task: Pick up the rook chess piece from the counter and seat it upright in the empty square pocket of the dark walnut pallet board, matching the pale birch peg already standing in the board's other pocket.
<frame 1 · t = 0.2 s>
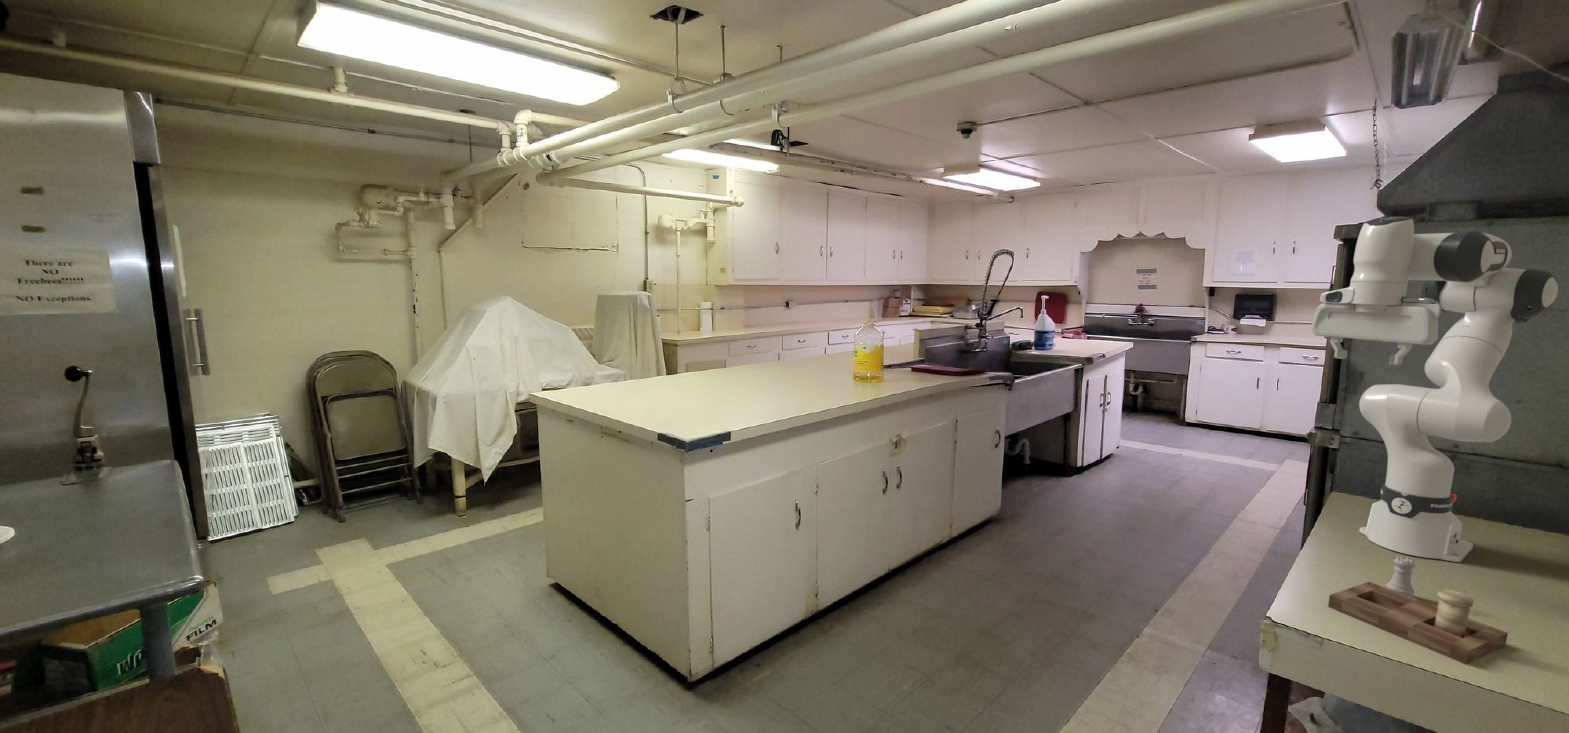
hand: (1366, 361, 134), 47 cm above the table, tool pointing down, fingers open, 8 cm apart
rook chess piece: (1398, 596, 130), on the table
pallet board: (1411, 625, 119), on the table
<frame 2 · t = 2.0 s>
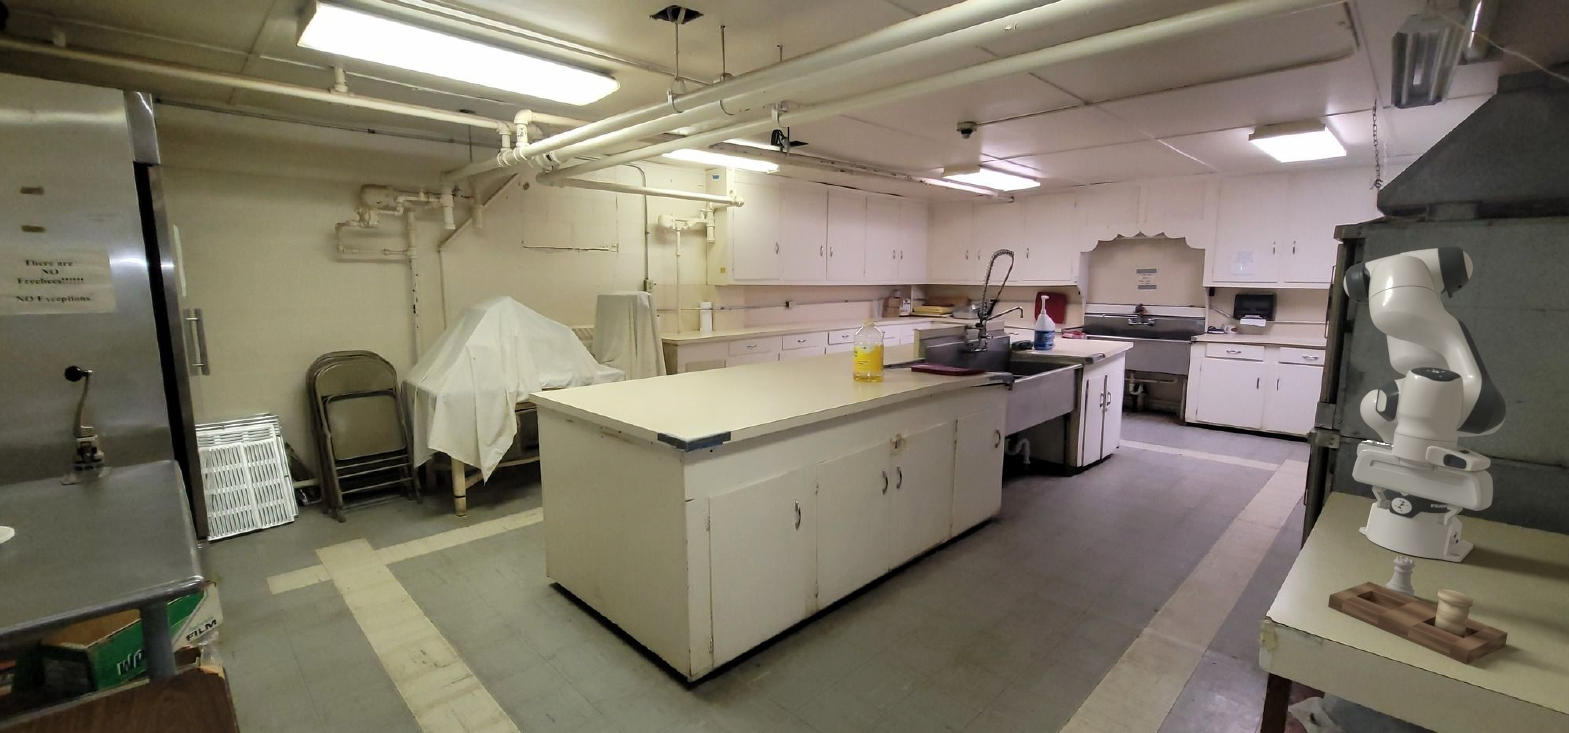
hand: (1412, 516, 127), 17 cm above the table, tool pointing down, fingers open, 8 cm apart
nothing on the table moved.
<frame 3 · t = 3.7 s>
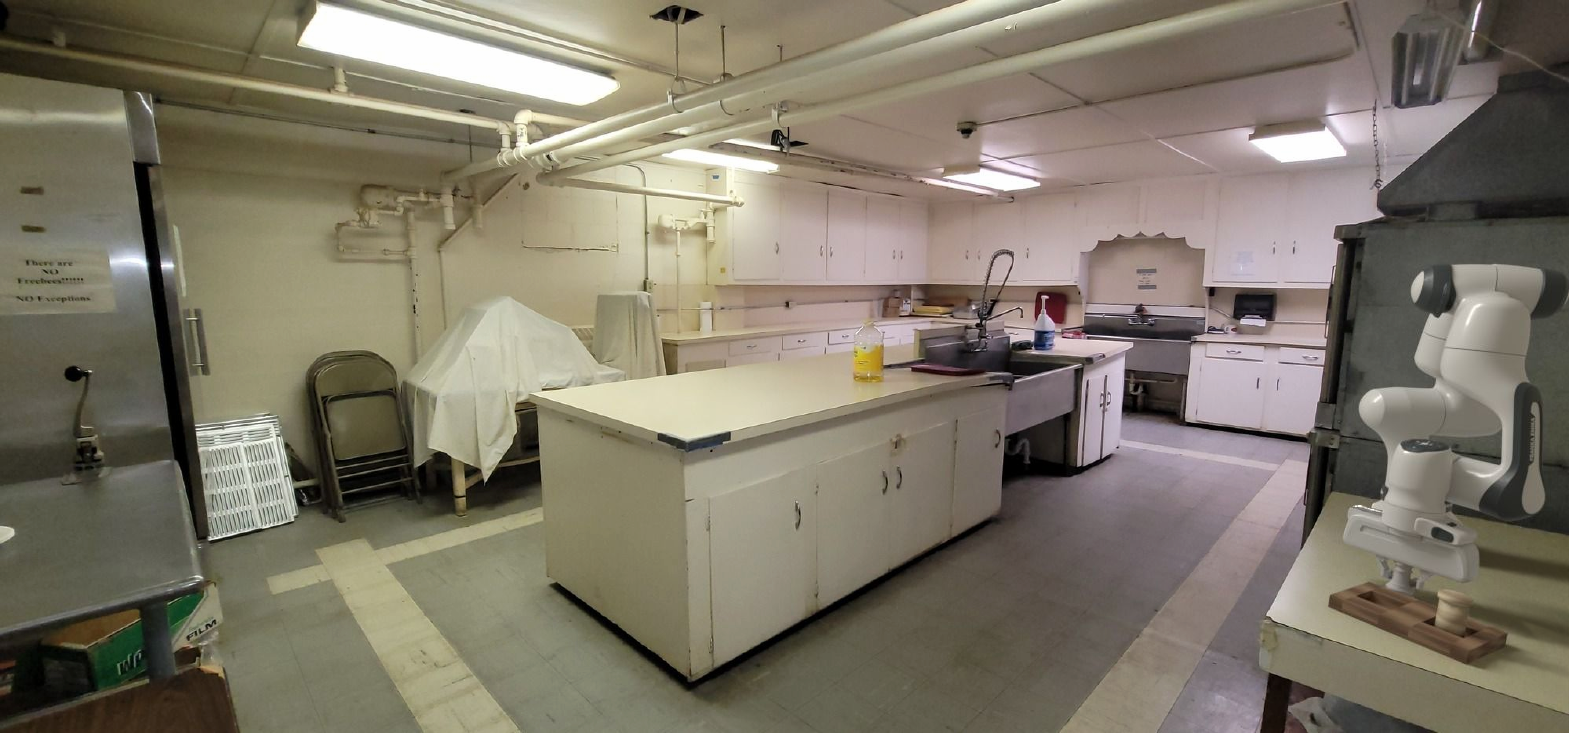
hand: (1401, 582, 129), 3 cm above the table, tool pointing down, fingers closed on rook chess piece, 3 cm apart
rook chess piece: (1398, 596, 130), on the table, touching gripper
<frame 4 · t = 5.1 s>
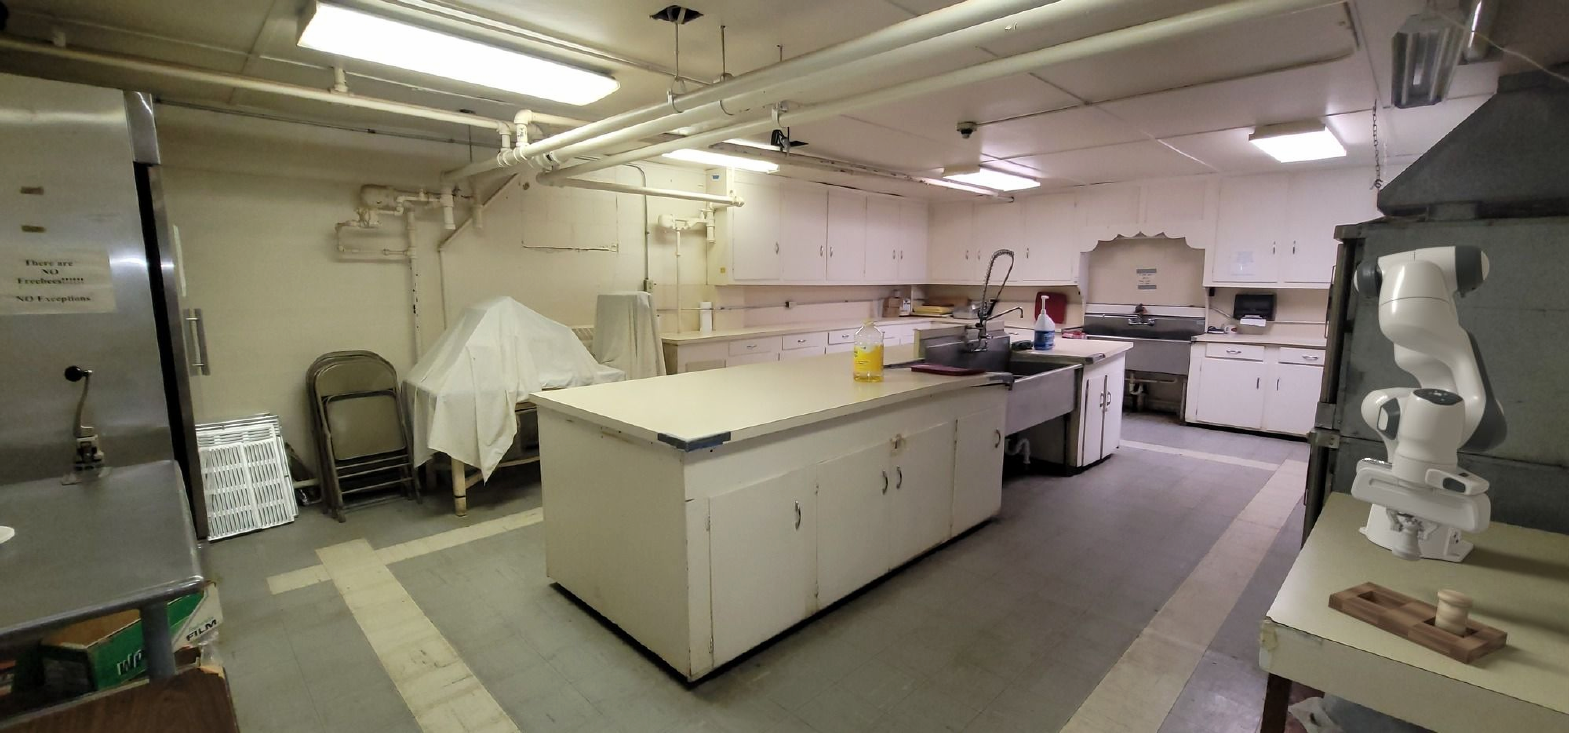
hand: (1409, 534, 128), 13 cm above the table, tool pointing down, fingers closed on rook chess piece, 3 cm apart
rook chess piece: (1405, 557, 129), point 8 cm above the table, touching gripper
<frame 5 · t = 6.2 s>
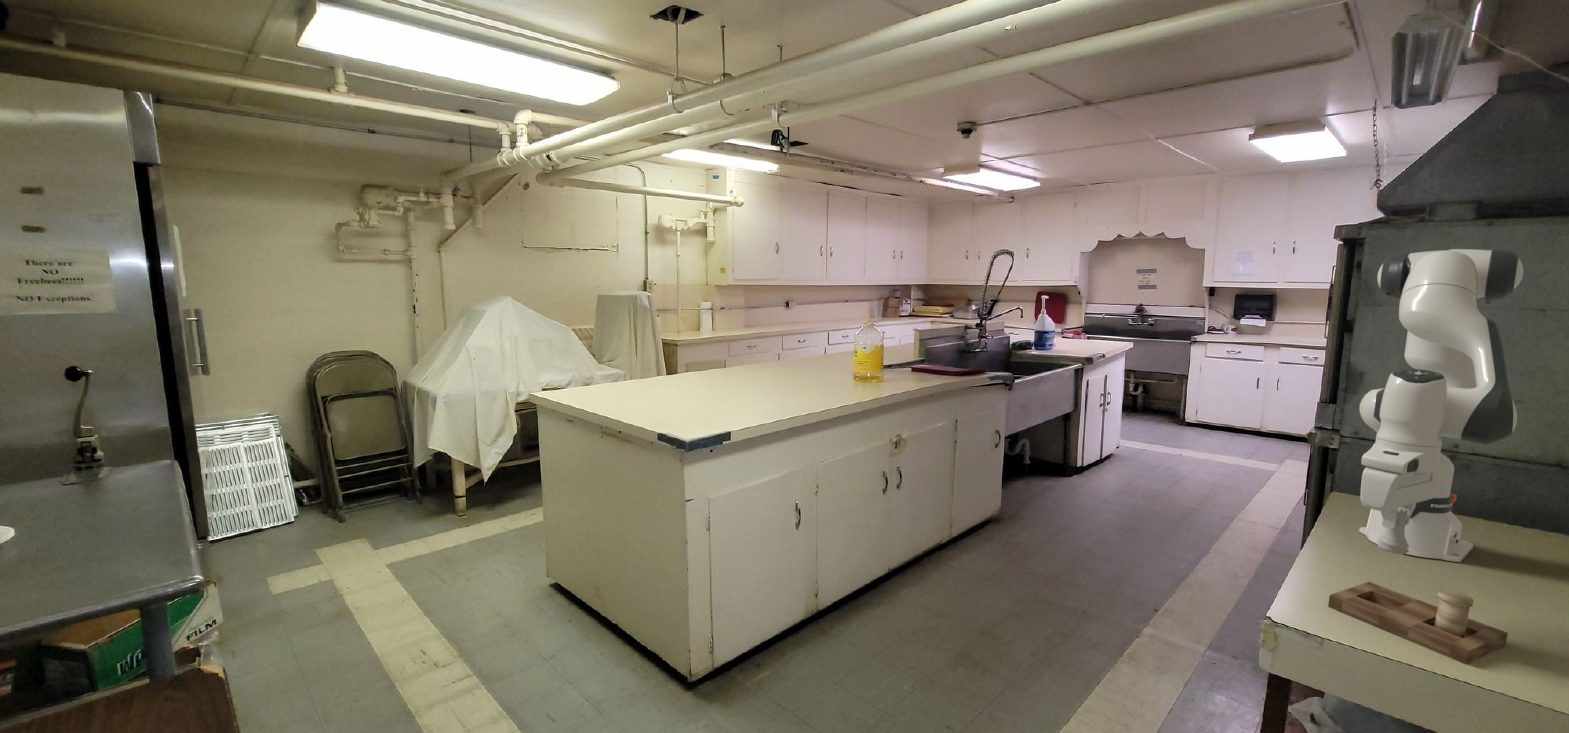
hand: (1395, 525, 121), 18 cm above the table, tool pointing down, fingers closed on rook chess piece, 3 cm apart
rook chess piece: (1392, 551, 121), point 13 cm above the table, touching gripper
when the fingers open (4 cm above the table, at t = 8.4 s): rook chess piece stays where it is, resting on pallet board.
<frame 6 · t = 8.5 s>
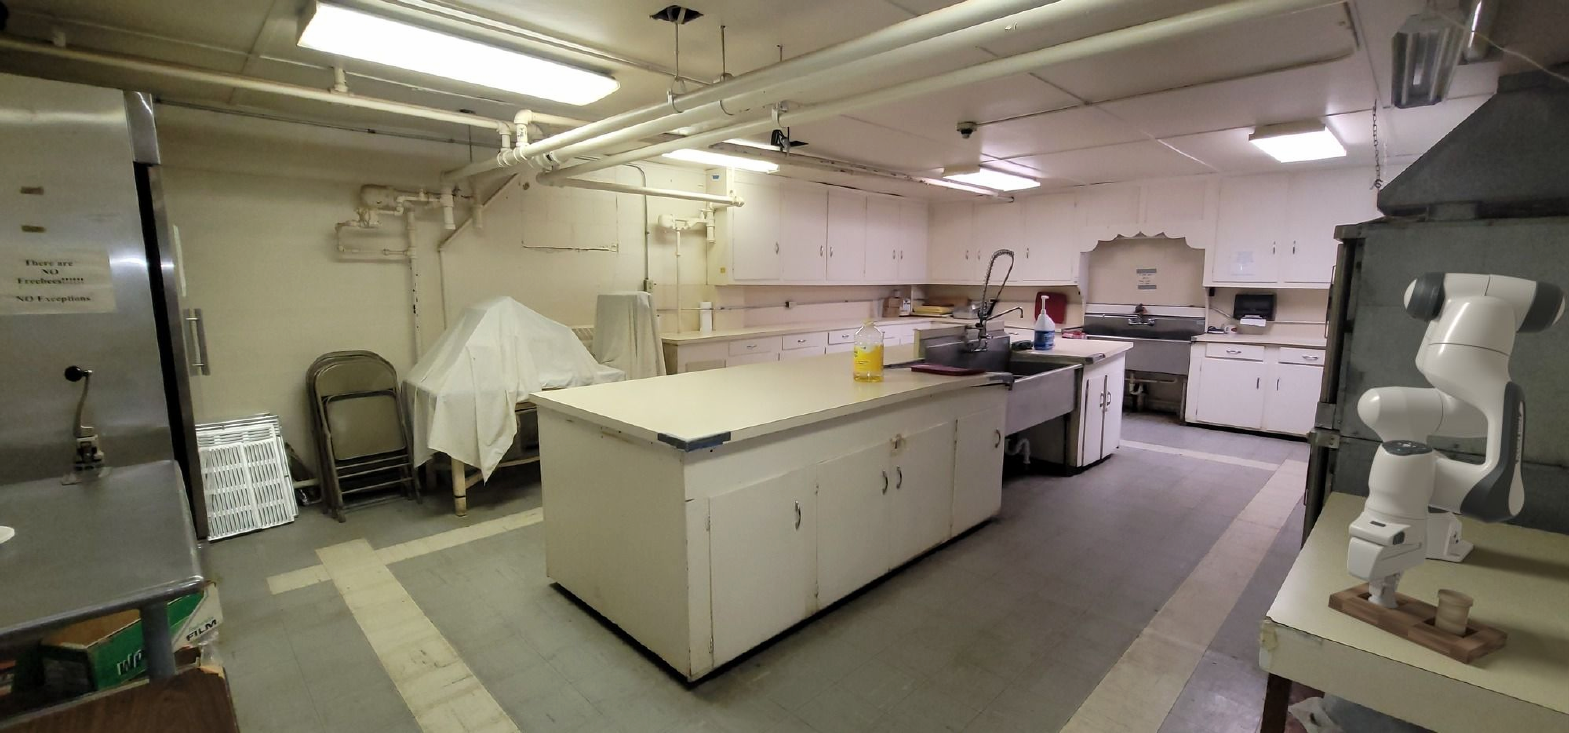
hand: (1382, 592, 123), 4 cm above the table, tool pointing down, fingers open, 3 cm apart
rook chess piece: (1381, 611, 123), resting on pallet board
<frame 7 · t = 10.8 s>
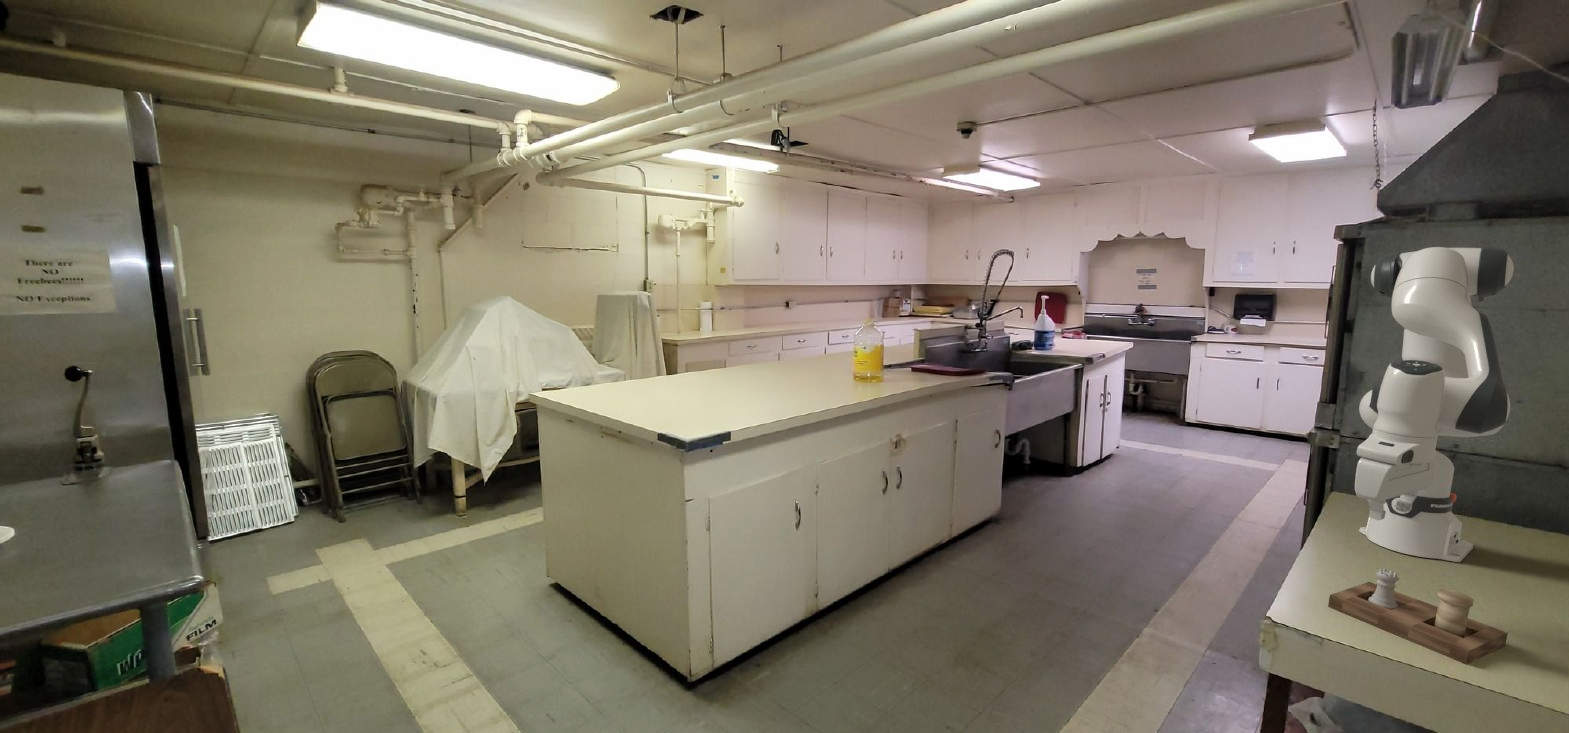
hand: (1389, 514, 122), 19 cm above the table, tool pointing down, fingers open, 8 cm apart
nothing on the table moved.
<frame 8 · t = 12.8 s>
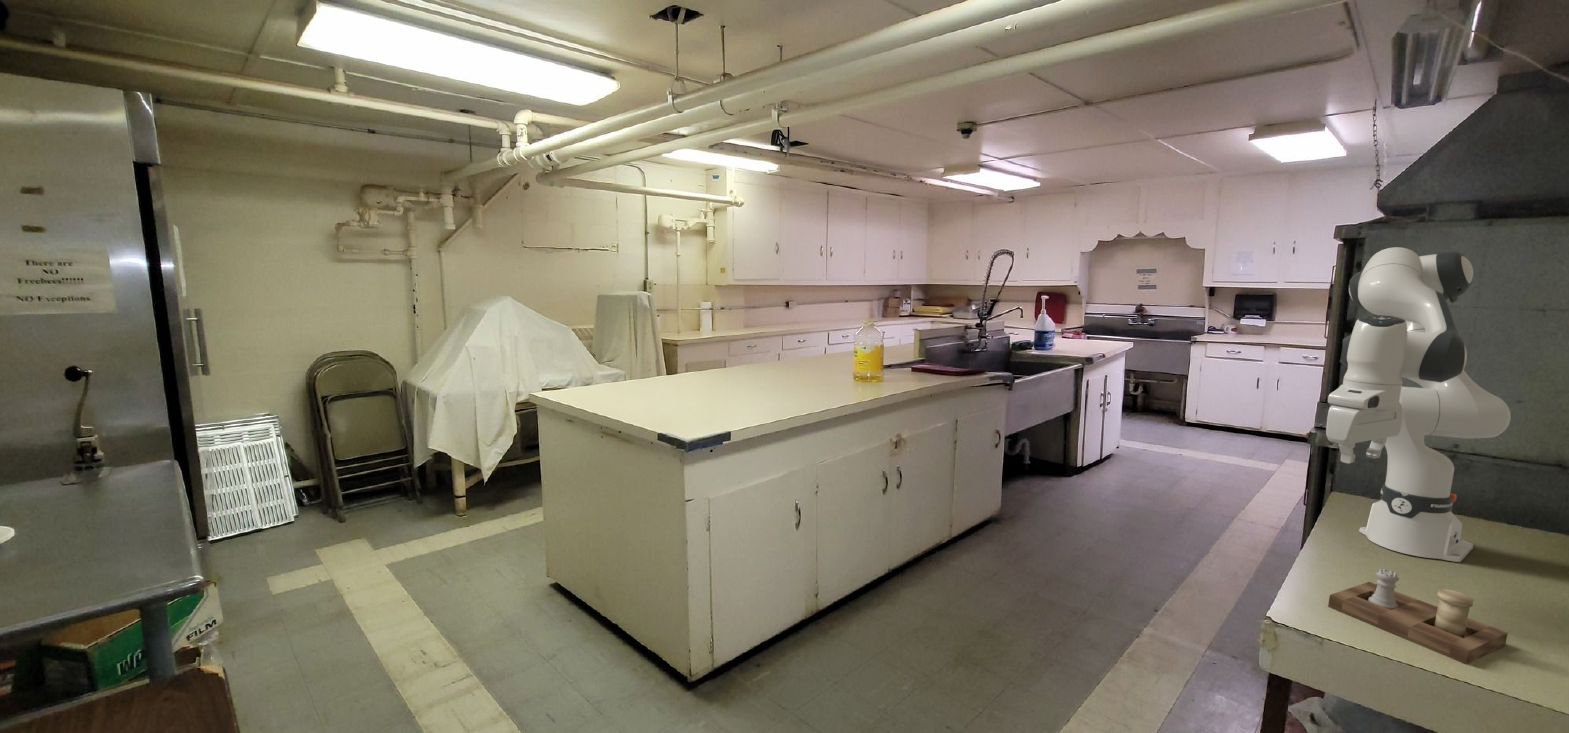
hand: (1360, 460, 131), 27 cm above the table, tool pointing down, fingers open, 8 cm apart
nothing on the table moved.
at the end: rook chess piece 0.4 cm from the target spot on the pallet board, point 0.4 cm above the pallet board's base; rook chess piece tilted 0°; the gripper is holding nothing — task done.
